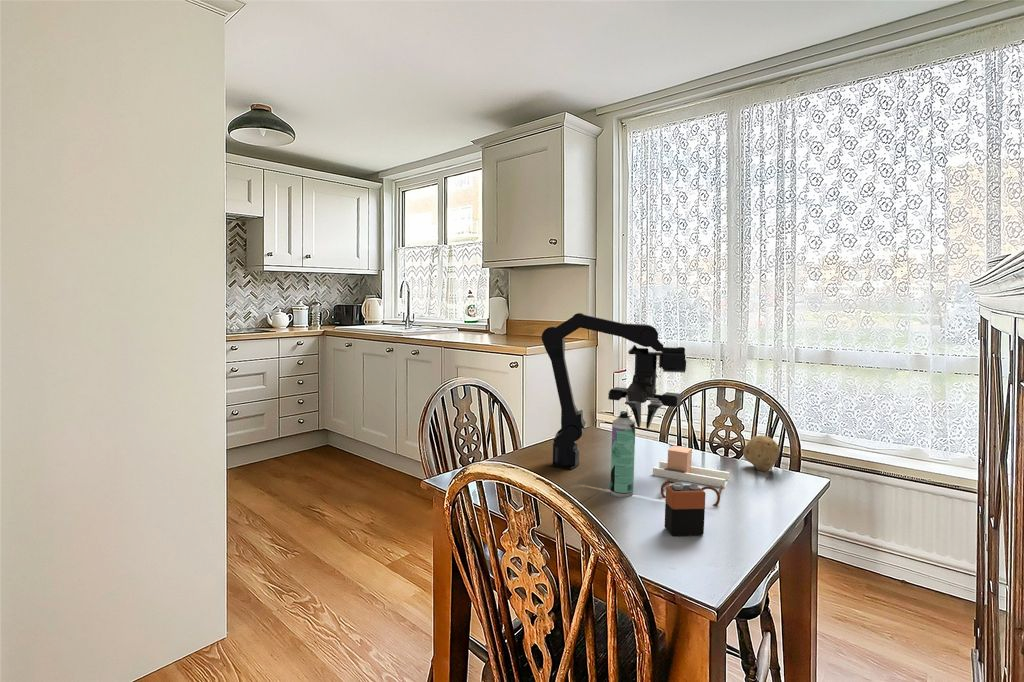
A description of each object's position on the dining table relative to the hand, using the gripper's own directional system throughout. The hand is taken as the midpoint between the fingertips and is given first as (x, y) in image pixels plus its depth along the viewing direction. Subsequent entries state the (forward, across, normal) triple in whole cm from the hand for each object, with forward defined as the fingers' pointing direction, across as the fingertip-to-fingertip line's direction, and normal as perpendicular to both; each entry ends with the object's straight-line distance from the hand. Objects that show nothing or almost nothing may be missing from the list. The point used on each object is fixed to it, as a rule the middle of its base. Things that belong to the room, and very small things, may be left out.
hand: (643, 427), depth 149 cm
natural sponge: (+12, +28, +18) cm, 35 cm away
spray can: (+12, +1, -19) cm, 23 cm away
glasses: (+13, +16, -12) cm, 23 cm away
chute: (+12, +13, 0) cm, 18 cm away
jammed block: (+11, +10, 0) cm, 15 cm away
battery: (+12, +19, -34) cm, 41 cm away
